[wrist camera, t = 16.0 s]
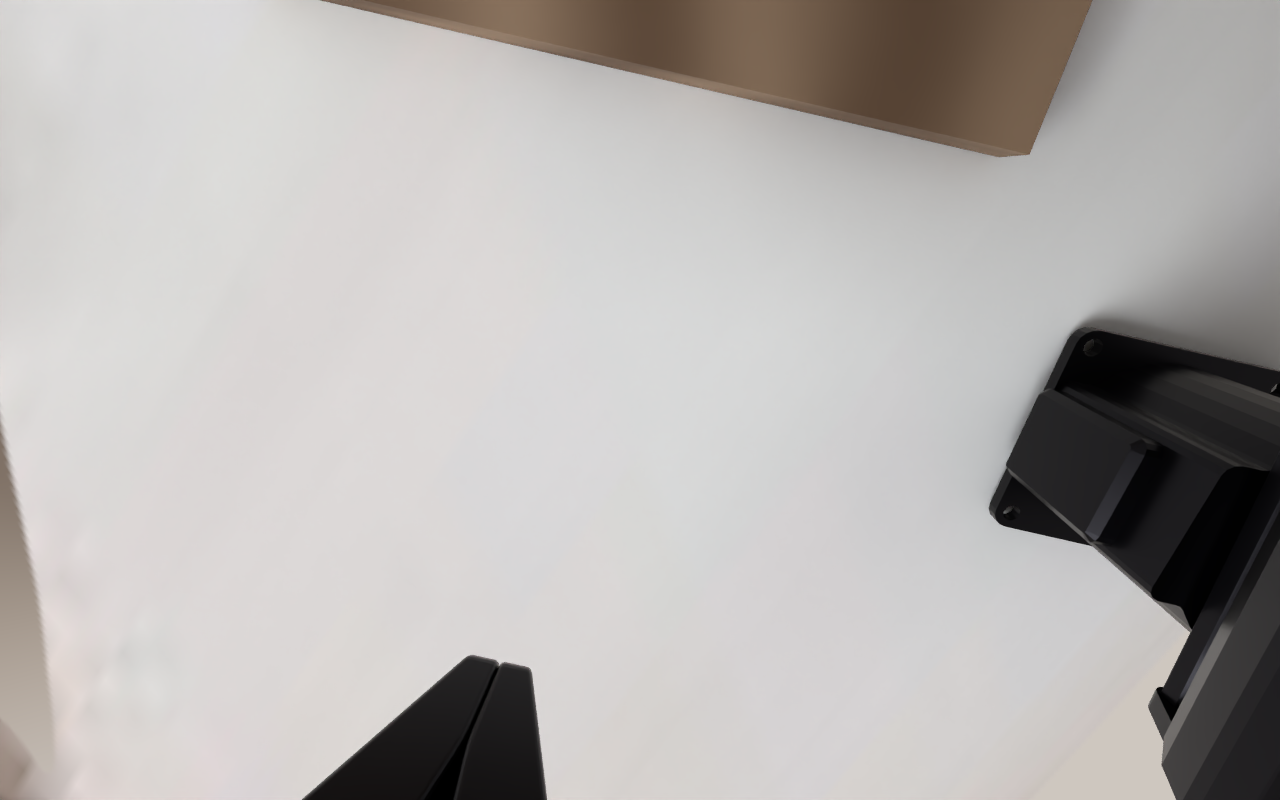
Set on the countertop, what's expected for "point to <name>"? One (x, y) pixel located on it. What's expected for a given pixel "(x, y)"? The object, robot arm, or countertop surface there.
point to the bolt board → (812, 54)
